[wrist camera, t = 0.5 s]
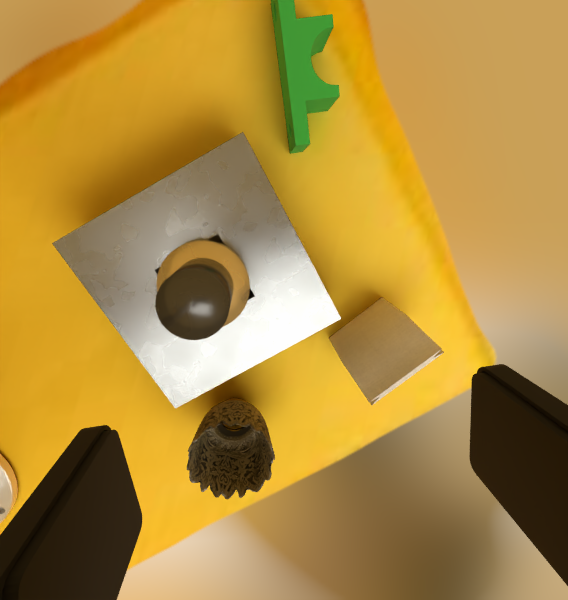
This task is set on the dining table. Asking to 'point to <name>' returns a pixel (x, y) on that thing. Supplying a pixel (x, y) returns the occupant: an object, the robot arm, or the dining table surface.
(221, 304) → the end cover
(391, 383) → the tan milk carton
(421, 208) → the dining table surface
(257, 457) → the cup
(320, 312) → the plate
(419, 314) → the dining table surface
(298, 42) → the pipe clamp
